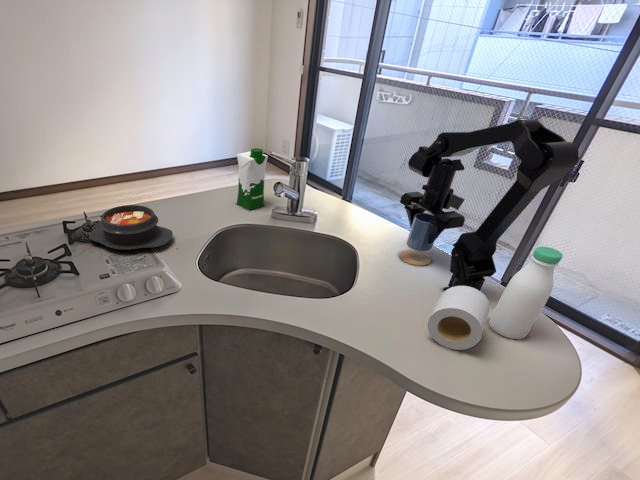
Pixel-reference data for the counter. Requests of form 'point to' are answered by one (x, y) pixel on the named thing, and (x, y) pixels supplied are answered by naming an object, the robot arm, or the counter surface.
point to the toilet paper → (459, 317)
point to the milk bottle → (526, 295)
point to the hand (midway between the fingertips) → (421, 237)
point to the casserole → (130, 229)
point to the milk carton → (251, 178)
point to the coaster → (414, 258)
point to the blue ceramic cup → (420, 232)
